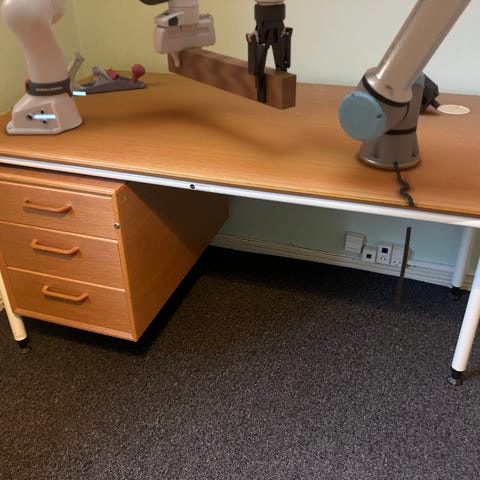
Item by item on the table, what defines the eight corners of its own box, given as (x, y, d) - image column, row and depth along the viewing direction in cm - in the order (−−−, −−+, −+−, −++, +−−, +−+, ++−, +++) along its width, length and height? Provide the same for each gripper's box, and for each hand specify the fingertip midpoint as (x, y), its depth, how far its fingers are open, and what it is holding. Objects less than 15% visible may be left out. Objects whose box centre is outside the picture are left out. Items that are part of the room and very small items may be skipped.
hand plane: (62, 90, 197) (53, 48, 189) (145, 82, 205) (140, 41, 197) (62, 96, 191) (54, 53, 184) (148, 87, 199) (143, 45, 191)
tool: (378, 91, 179) (405, 54, 169) (421, 128, 175) (451, 93, 164) (370, 95, 176) (396, 58, 165) (413, 134, 171) (443, 98, 161)
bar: (295, 106, 135) (296, 74, 131) (281, 110, 133) (282, 78, 128) (181, 68, 170) (179, 42, 166) (168, 71, 168) (166, 45, 164)
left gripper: (207, 10, 163) (208, 57, 170) (148, 18, 152) (153, 68, 160) (219, 13, 159) (220, 61, 166) (160, 21, 148) (164, 72, 155)
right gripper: (286, -3, 133) (285, 90, 146) (230, 5, 124) (233, 103, 136) (308, -1, 128) (304, 95, 141) (250, 8, 119) (252, 110, 131)
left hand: (187, 64), depth 163 cm, fingers closed on bar, 5 cm apart
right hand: (269, 99), depth 138 cm, fingers closed on bar, 5 cm apart
